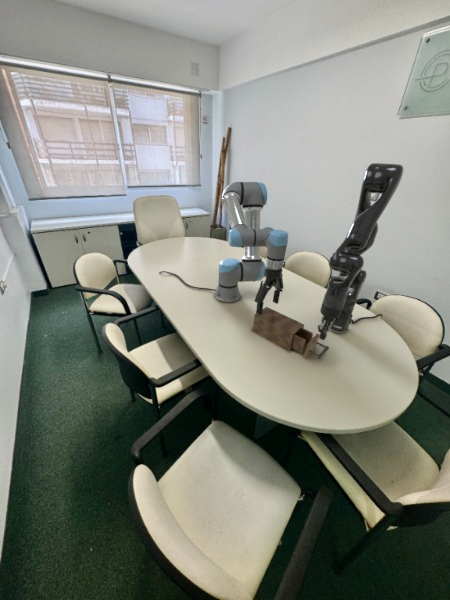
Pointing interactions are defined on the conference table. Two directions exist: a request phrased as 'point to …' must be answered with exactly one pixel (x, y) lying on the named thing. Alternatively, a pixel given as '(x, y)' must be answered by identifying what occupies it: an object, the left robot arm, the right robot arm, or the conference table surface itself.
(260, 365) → the conference table surface
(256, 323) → the cabinet
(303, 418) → the conference table surface
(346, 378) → the conference table surface
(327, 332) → the right robot arm
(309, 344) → the drawer
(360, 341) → the conference table surface
